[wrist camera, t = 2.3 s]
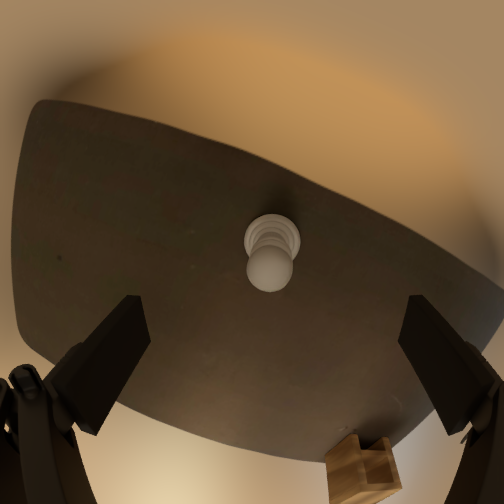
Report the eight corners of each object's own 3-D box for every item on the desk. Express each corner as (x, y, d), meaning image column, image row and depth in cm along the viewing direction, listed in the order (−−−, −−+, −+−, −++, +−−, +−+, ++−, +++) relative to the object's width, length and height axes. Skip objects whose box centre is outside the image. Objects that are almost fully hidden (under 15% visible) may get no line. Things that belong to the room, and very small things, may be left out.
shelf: (388, 437, 37) (402, 488, 25) (362, 458, 39) (371, 506, 28) (350, 433, 36) (360, 491, 25) (324, 455, 39) (329, 508, 27)
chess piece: (237, 254, 28) (220, 297, 19) (256, 204, 26) (247, 226, 17) (287, 273, 28) (291, 322, 19) (308, 225, 26) (324, 257, 18)
